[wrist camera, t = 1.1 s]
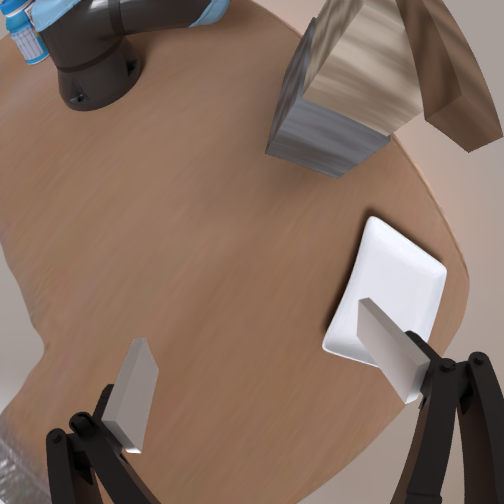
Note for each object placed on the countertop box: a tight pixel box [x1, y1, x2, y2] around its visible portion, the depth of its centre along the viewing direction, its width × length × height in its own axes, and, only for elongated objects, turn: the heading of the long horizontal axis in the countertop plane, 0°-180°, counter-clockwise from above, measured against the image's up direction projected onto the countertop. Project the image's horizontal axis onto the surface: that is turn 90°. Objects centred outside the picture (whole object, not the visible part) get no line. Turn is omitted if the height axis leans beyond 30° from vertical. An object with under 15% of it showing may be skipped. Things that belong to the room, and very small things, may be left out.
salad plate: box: [322, 216, 447, 367], centre depth 39 cm, size 21×21×3 cm
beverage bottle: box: [0, 0, 49, 65], centre depth 22 cm, size 8×8×20 cm
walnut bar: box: [395, 0, 503, 153], centre depth 11 cm, size 28×4×3 cm, turn 167°
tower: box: [265, 0, 424, 178], centre depth 27 cm, size 19×12×28 cm, turn 167°
